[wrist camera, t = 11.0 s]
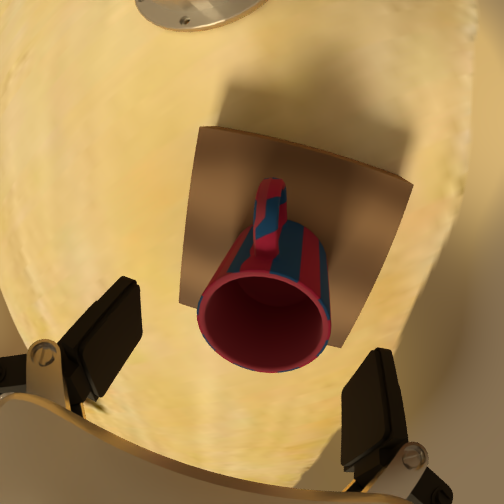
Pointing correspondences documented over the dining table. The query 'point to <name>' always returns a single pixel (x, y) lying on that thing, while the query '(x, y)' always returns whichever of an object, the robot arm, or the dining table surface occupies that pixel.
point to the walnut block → (292, 212)
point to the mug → (269, 292)
